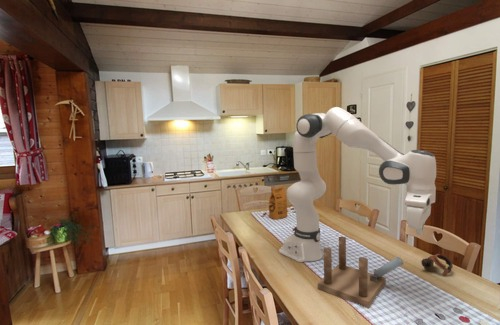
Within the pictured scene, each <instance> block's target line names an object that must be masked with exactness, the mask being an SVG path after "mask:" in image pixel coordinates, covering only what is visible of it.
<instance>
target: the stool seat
mask: <svg viewBox="0 0 500 325" xmlns="http://www.w3.org/2000/svg"><path fill="white" fill-rule="evenodd" d="M332 260H333V259H332V248H330V247H324V248H323V277H322V279H320V280H319V281H318V282H317V290H320V291H322V292H324V293H328V294H329V295H333V296H335V297H338V298H341V299H343V300H345V301H348V302H351V303H353V302H354V303H353V304H356V303H357V304H356V305H358V304H360V305H359V306H361V305H362V306H361V307H364V306H365V307H364V308H366V307H367V308H366V309H369V308H370V307H371V306H372V305H373V303H374V301H375V300H376V298H377V297H378V295H379V294H380V293H379V292H381V291H382V290H383V288H384V287H385V286H386V283H387V282H386V281H387V280H386V278H387V277H385V276H382V277H380V278H377V276H376V275H374V273H370V272H368V270H369V269H368V268H369V267H368V265H369V261H368V258H367V257H364V256H361V257H358V268H355V267H351V266H347V238H346V237H345V236H338V264H336V265H335V267H333V268H332V266H333V264H332ZM375 270H377V268H376V269H373V272H374V271H375ZM376 296H377V297H376ZM374 299H375V300H374ZM372 302H373V303H372ZM370 305H371V306H370Z"/></svg>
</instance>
